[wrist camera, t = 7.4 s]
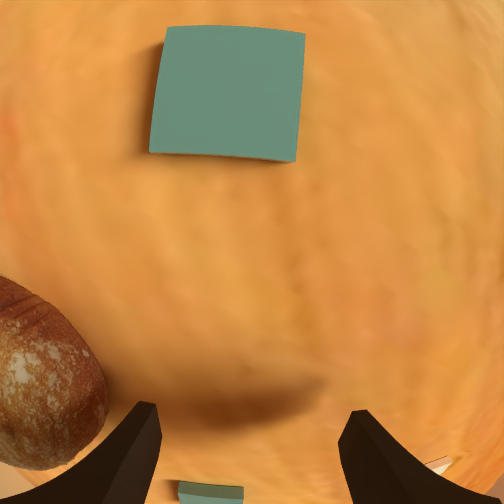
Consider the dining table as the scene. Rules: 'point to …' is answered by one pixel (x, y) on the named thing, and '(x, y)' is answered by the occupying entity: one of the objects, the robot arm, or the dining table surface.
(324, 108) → the dining table surface
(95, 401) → the bread roll
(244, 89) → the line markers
